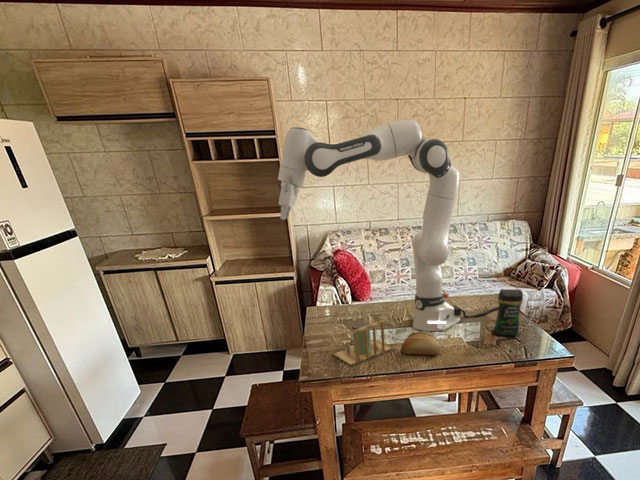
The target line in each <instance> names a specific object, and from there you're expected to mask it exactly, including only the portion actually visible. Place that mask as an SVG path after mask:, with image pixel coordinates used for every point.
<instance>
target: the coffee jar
mask: <svg viewBox="0 0 640 480" xmlns="http://www.w3.org/2000/svg"><path fill="white" fill-rule="evenodd" d="M523 293H524V292H523V291H522V289H504V288H502V289H500V290H499V294H498V297H497V302H498V307H499V309H497V310H498V311H497V316H496V320H495V324H494V332H495V334H497V335H498V336H507V337H508V336H517V335H518V334H519V331H520V329H519V328H520V311H521V306H522V304H523V302H524V294H523Z"/></svg>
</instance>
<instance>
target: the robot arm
mask: <svg viewBox="0 0 640 480" xmlns="http://www.w3.org/2000/svg"><path fill="white" fill-rule="evenodd" d="M281 153H282V159H281V162H280V164H279V170H278V176H277V180H278V181H280V192H279V198H278V205H279V206H280V216H279V218H280V220H283V221H286V219H289V218H290V212H291V209H292V207H294V206H295V204H296V202H297V198H298V194H299V190H300V188H304V183H305V178H306V173H307V171H308V172H309V173H310V174H311V175H313V176H315V177H317V178H325V177H327V176H329V175H330V174H332V173H333V172H334V171H335V169H337V168H338V167H340V166H342V165H345V164H349V163H353V162H357V161H360V160H372V161H374V162H383V161H388V160H393V159H397V158H399V157H402V156H407V158H408V159H409V161H410V163H411V165H412V167H413V168H414V169H415V170H417V171H418V172H421V173H423V174H427V175H428V177H429V187H428V190H427V195H426V199H425V204H424V208H423V213H422V231H420V232H418V233H416V234H415V236H414V237H413V239H412V253H413V263H414V271H415V294H414V303H415V305H414V313H413V318H412V325H411V326H412V327H413V328H414V329H417V330H419V331H423V332H435V331H436V332H444V331H446V330H448V329H449V328H451V327H453V326H454V325H456V324H457V323H459V322H461V318H460V316H461V314H463V318H468V319H469V318H477V317H481V316H484V315H487V314H489V313H491V312H493V311H495V310H499V306H496V307H492V308H490V309H488V310H487V311H485V312H481V313H477V314H475V315H474V314H473V315H466V311H465V310H464V309H462V308H461V307H459V306H457V305H456V304H455V305H452V304H450V303H448V302H447V301H446V300H445V299H449V298H450V294H449V293H447V292H443V273H442V268H441V265H442V264H444V263H445V262H446V261H447V259H448V258H449V239H450V229H451V220H452V216H453V212H454V208H455V204H456V200H457V196H458V190H459V183H460V172H459V170H458V169H457V168H456V167H455V166H454V165H452V162H451V158H450V152H449V149H448V146H447V144H446V143H445V142H444V141H442V140H440V139H439V138H425V137H424V135H423V132H422V129H421V126H420V124H419V123H418V122H417V121H416V120H415V119H401V120H395V121H390V122H387V123H384V124H380V125H378V126H376V127H374V128H372V129H370V130H368V131H367V132H366V133H364V134H363V135H360V136H359V137H357V138H352V139H349V140H345V141H342V142H338V143H334V144H331V143H326V142H320V141H319V140H318V139H317V138H316V137H315V136H314V135H313V133H312V132H311V131H310V130H309V129H307V128H304V127H299V126H298V127H294V126H293V127H290V128H289V129H288V130H287V132H286V134H285V137H284V142H283V146H282V151H281ZM461 312H462V313H461Z"/></svg>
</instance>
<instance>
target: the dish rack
mask: <svg viewBox="0 0 640 480" xmlns="http://www.w3.org/2000/svg"><path fill="white" fill-rule="evenodd" d="M385 324H386V320H384V319H382V320H379V321H376V322H374V323H371V324H370V325H367V326H364V327H362V328H359V329H356V330H353V333H355V339H356V352H357V353H354V346H350V347H349V346H348V347H346V349H342V350H340V351H337V352H334V353H333V355H334V356H335V357H337V358H339V359H340V360H342V361H343V362H345V363H347V364H349V365H353V364H356V363H358V362H361V361H363V360H365V359H368V358H371V357H374V356H375V355H378V354H381V353H383V352H385V351H388V350H391V349H392V347H391V346H389V345H387V344H386V343H385V327H384V325H385ZM378 326H380V332H381V333H380V334H381V335H380V337H381V342H380V341H378V340H377V335H376V334H377V333H376V332H377V331H376V327H378ZM367 329H370V330H371V329H372V338H371V352H370V353H368V343H367ZM361 331H364V339H365V353H366V354H364V355H359V342H358V332H361Z"/></svg>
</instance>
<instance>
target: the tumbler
mask: <svg viewBox="0 0 640 480" xmlns="http://www.w3.org/2000/svg"><path fill="white" fill-rule="evenodd" d="M367 325H370V322H369V321H364V320H361V321H355V322H353V323H352V324H351V333H352V345H353V346H354V353H357V352H356V339H355V333H353V330H356V329H359V328H362V327H364V326H367ZM371 340H372V338H371V328H370V329H367V343H368V353H370V352H371ZM358 342H359V355H364V354H366V353H365V339H364V331H361V332H358ZM353 346H352V347H353Z"/></svg>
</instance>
